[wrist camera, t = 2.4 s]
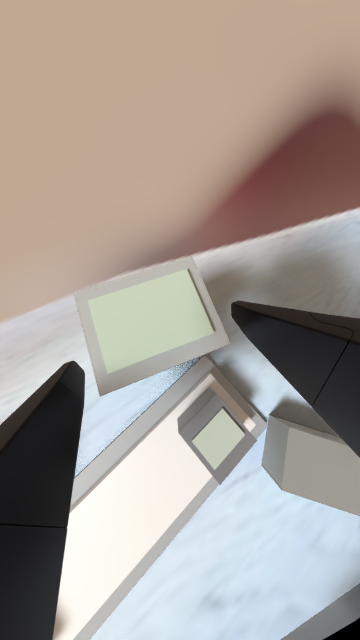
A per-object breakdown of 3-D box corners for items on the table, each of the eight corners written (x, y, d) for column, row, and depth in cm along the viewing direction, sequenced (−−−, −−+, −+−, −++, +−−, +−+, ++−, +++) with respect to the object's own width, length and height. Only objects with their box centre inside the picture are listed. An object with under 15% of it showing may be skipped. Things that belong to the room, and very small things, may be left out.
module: (192, 350, 17) (232, 343, 6) (148, 368, 16) (97, 397, 5) (179, 317, 17) (192, 252, 6) (136, 332, 17) (70, 290, 6)
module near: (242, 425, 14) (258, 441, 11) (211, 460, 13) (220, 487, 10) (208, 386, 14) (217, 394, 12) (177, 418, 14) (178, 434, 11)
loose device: (333, 434, 16) (370, 453, 13) (330, 486, 15) (369, 519, 12) (267, 413, 16) (289, 427, 13) (259, 463, 15) (281, 490, 12)
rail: (265, 423, 15) (275, 430, 14) (-6, 746, 10) (-34, 808, 9) (204, 354, 16) (207, 354, 15) (-67, 612, 11) (-100, 647, 10)
